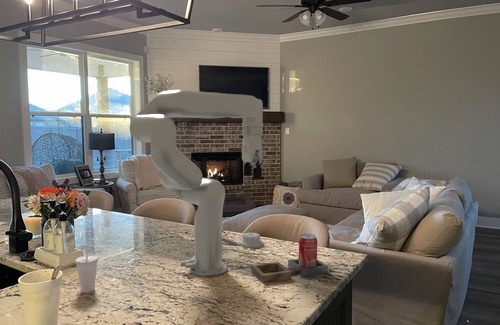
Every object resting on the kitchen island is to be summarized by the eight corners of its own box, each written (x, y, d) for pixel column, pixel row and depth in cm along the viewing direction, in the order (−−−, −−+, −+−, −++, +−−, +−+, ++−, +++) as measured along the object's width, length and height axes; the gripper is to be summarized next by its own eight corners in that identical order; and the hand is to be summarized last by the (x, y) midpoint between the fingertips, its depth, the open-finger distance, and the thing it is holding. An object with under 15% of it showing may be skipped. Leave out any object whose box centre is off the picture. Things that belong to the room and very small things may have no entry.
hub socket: (290, 279, 121) (291, 271, 121) (277, 268, 130) (277, 261, 130) (328, 273, 126) (328, 266, 126) (312, 263, 135) (312, 256, 135)
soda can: (303, 274, 125) (304, 239, 124) (295, 267, 131) (295, 234, 130) (320, 272, 127) (320, 237, 126) (311, 265, 133) (311, 232, 132)
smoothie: (75, 296, 108) (74, 248, 107) (76, 287, 114) (74, 242, 112) (99, 292, 110) (98, 246, 109) (99, 284, 116) (97, 240, 115)
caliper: (197, 240, 164) (197, 226, 163) (198, 239, 165) (198, 225, 164) (239, 246, 156) (239, 231, 155) (240, 245, 157) (240, 231, 156)
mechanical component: (236, 247, 154) (260, 249, 152) (236, 236, 154) (260, 238, 152) (242, 240, 164) (265, 242, 162) (242, 230, 164) (265, 232, 161)
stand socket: (262, 283, 117) (262, 275, 117) (251, 272, 126) (251, 265, 126) (290, 279, 121) (291, 271, 121) (277, 268, 130) (277, 261, 130)
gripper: (235, 131, 148) (235, 174, 149) (251, 132, 131) (251, 180, 133) (253, 131, 150) (253, 174, 152) (271, 132, 134) (270, 179, 136)
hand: (252, 176), depth 142 cm, fingers open, 9 cm apart
